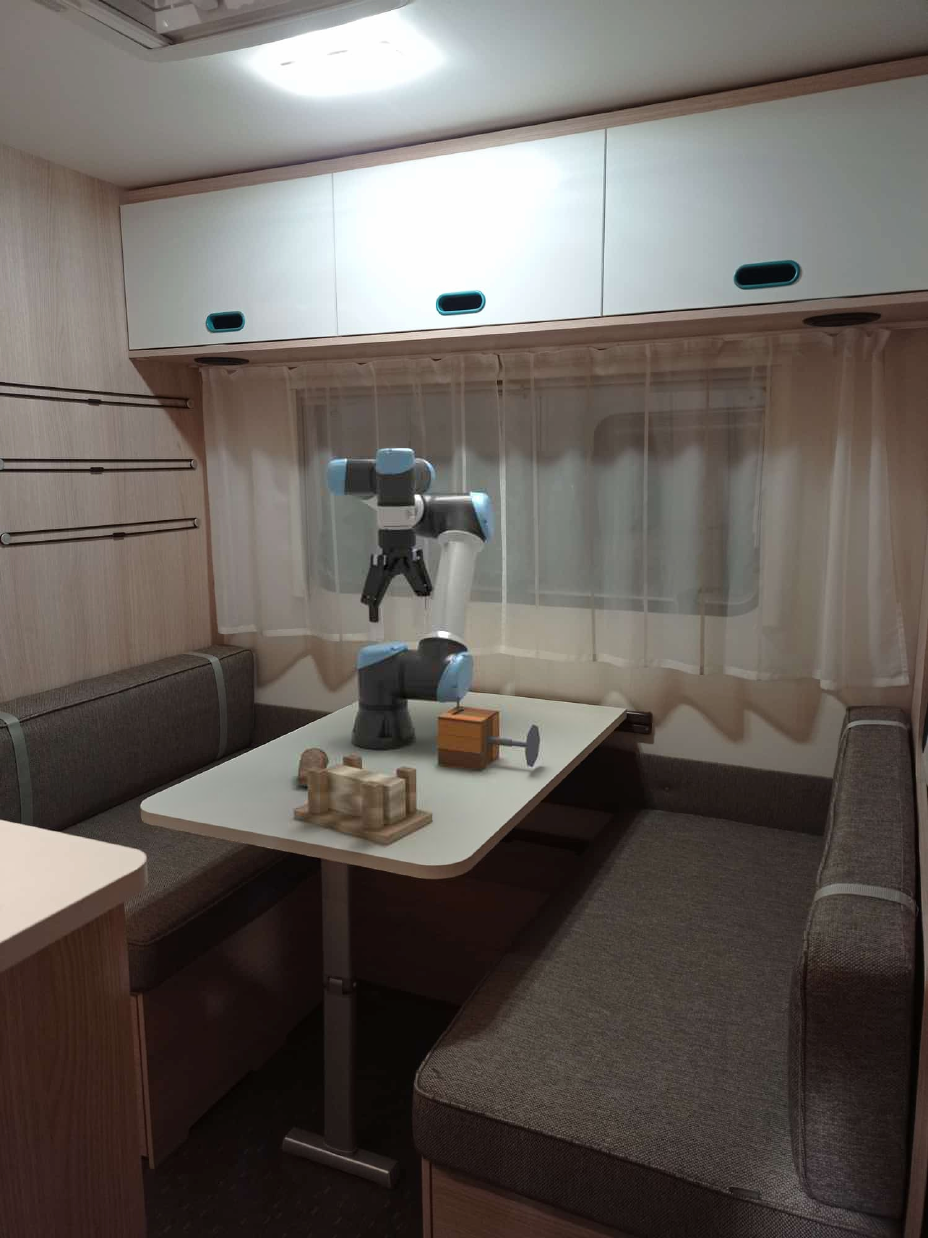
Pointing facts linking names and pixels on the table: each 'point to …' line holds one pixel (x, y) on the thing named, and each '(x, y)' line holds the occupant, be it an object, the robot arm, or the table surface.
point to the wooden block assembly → (363, 806)
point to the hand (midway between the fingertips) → (399, 632)
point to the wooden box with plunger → (477, 738)
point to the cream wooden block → (349, 792)
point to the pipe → (311, 763)
